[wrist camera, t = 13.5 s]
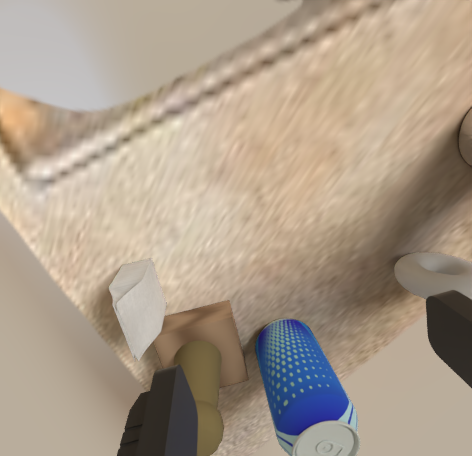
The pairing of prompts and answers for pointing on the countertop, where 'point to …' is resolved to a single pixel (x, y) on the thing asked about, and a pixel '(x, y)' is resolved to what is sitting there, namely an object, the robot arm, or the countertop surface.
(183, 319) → the walnut base
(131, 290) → the white tall box
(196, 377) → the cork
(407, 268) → the donut
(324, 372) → the beer can
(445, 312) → the robot arm
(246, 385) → the countertop surface
